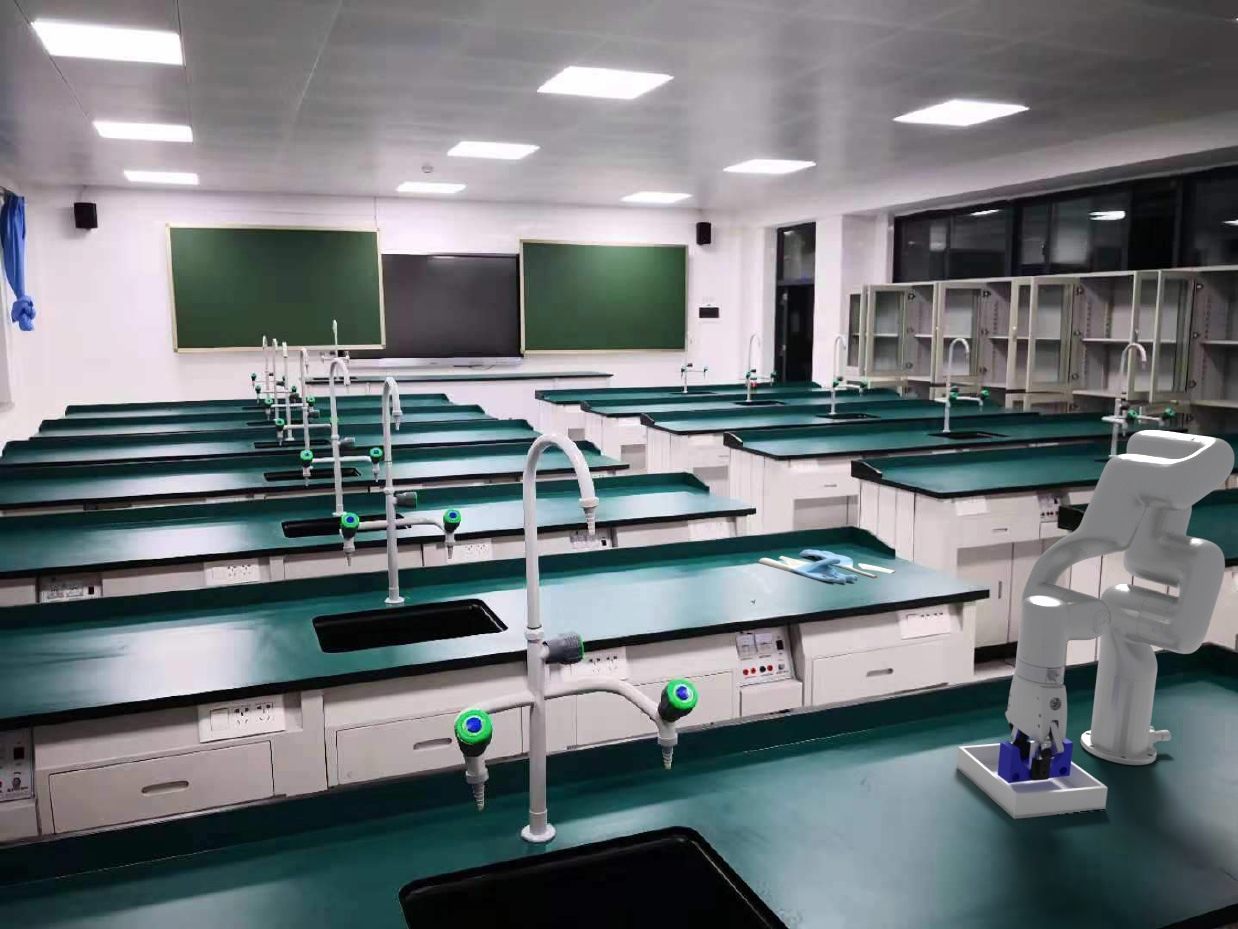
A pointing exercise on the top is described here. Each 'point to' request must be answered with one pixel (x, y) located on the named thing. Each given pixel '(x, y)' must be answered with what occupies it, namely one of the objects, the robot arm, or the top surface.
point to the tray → (1030, 786)
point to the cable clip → (1020, 770)
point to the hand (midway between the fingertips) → (1029, 770)
